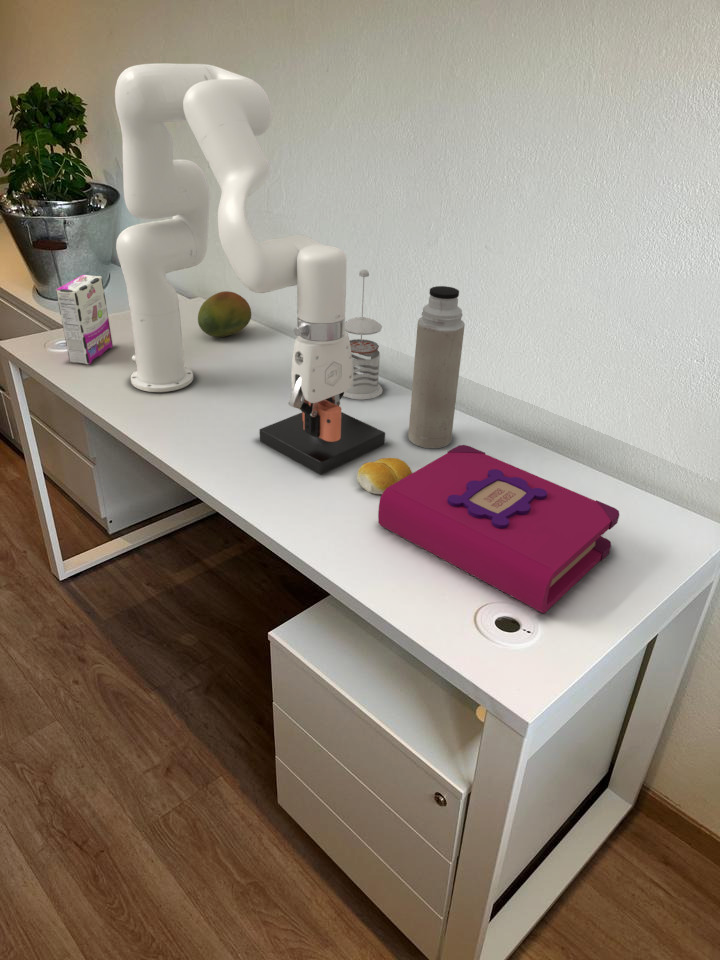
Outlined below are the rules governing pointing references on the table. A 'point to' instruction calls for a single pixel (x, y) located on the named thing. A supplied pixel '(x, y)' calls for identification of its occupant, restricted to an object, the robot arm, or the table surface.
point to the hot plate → (322, 442)
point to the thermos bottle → (436, 369)
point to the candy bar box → (84, 318)
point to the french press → (368, 382)
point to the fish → (329, 420)
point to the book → (500, 524)
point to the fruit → (224, 314)
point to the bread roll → (382, 474)
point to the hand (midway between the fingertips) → (320, 429)
